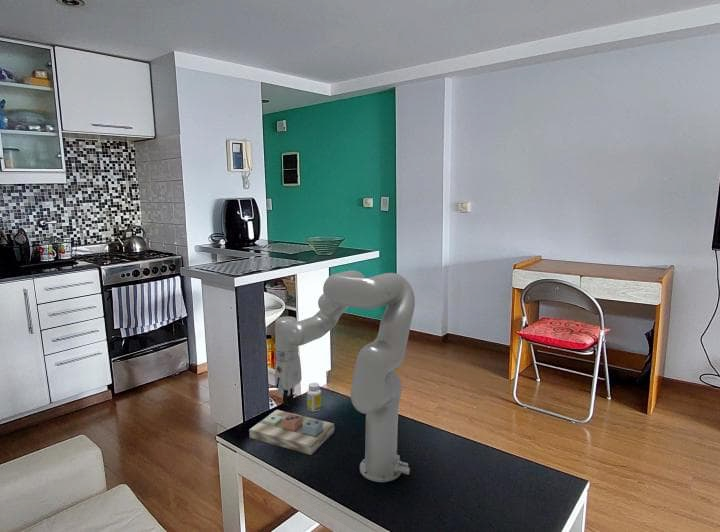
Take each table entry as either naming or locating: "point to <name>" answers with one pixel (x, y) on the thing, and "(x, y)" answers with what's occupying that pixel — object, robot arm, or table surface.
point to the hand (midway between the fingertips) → (288, 405)
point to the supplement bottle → (314, 397)
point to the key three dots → (292, 422)
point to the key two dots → (312, 427)
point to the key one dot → (273, 420)
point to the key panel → (291, 435)
